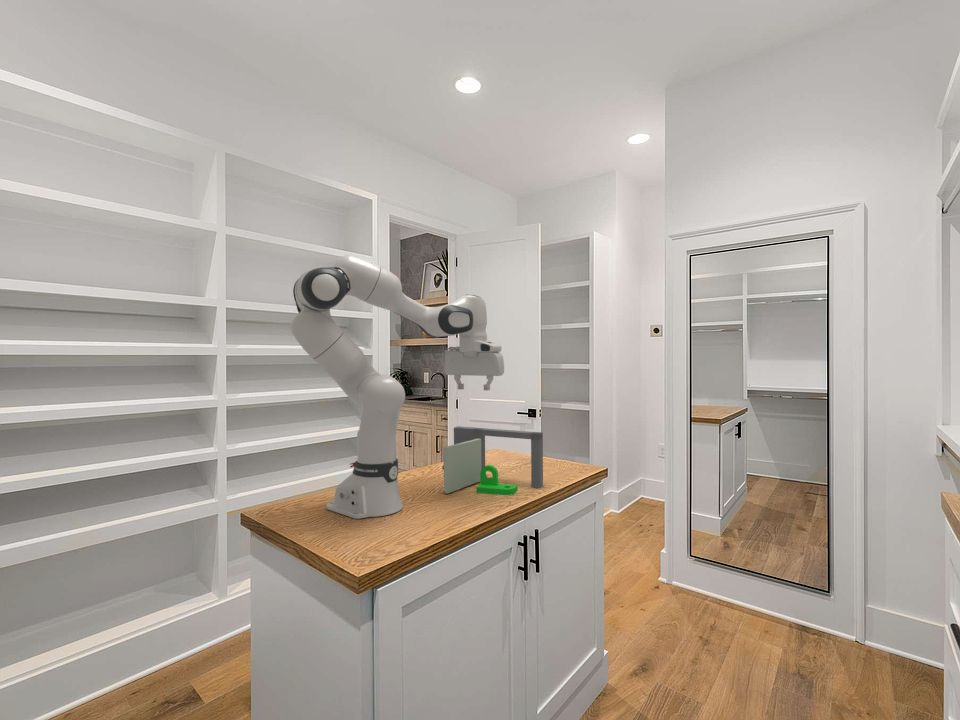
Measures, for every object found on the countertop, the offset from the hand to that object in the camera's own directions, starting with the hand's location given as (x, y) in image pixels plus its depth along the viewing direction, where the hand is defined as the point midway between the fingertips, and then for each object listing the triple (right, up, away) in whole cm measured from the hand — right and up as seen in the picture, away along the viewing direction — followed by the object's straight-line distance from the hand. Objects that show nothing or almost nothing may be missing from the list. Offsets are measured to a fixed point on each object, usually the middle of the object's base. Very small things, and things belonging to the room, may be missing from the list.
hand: (473, 389), depth 153 cm
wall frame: (+8, -33, +13) cm, 36 cm away
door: (-4, -32, +6) cm, 33 cm away
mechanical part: (+8, -33, +2) cm, 34 cm away
